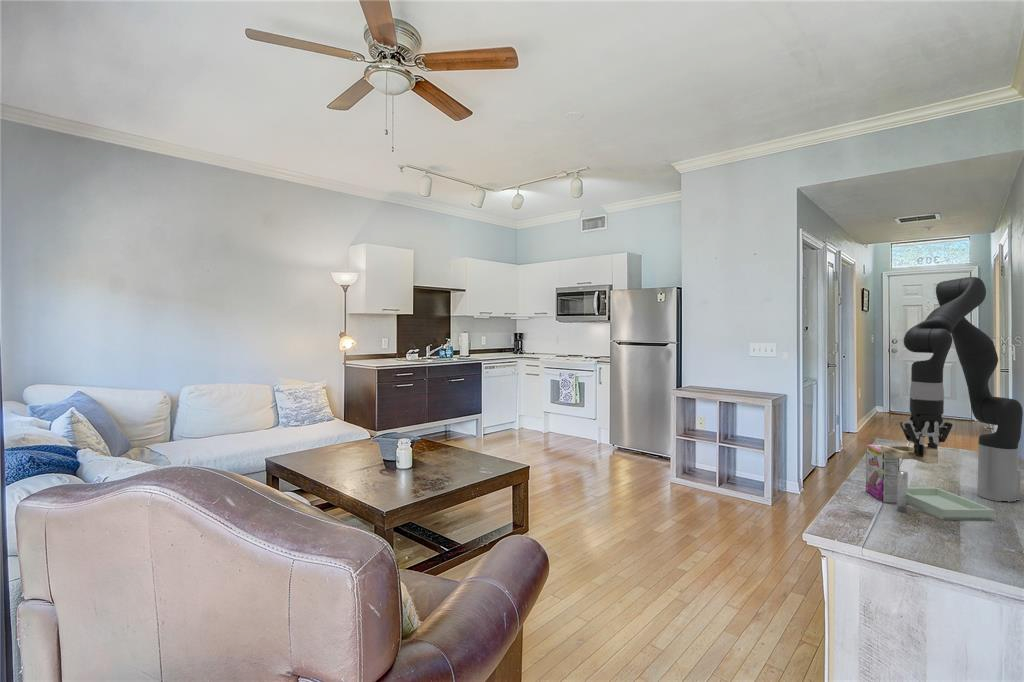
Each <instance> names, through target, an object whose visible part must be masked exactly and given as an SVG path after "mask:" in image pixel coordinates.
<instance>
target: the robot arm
mask: <svg viewBox="0 0 1024 682" xmlns="http://www.w3.org/2000/svg"><path fill="white" fill-rule="evenodd" d="M935 295H936V300H937V303H938V305H939V307H936V308H935V309H934V310H932V311H931V312H930V313H929V314H928V316H927V317H926V318H925V319H924V320H923V321H921V322H919V323H918V324H916V325H914V326H912V327H910V328H909V329H908V331H907V332H906V333H905V334H904V337H903V345H904V347H905V349H906V350H907V351H909V352H912V353H919V354H920V353H921V354H922V353H924V354H932V356H930V358H929V359H926V360H918V361H914V362H912V364H911V377H910V380H911V381H910V387H909V412H910V417H909V418H908V419H909V420H907V421H900V422H899V425H900V427H901V430H902V432H903V434H904V436H905V438H906V440H907V441H908V442H912V443H913V446H914V454H915V455H916V456H918V457H923V450H924V446H925V444H924V442H925V438H926V437H927V445H926V446H927V447H930V448H934V449H938V447H939V444H940V443H945V442H946V440H947V438H948V436H949V434H950V432H951V430H952V428H953V425H954V424H953V423H952V422H948V421H945V420H944V419H943V417H942V415H944V412H945V411H944V407H945V406H944V404H945V403H944V402H945V401H944V399H945V389H944V366H945V364H946V360H947V357H948V354H949V352H950V350H951V347H952V343H953V344H954V348H955V352H956V355H957V359H958V361H959V364H960V367H961V368H962V372H963V374H964V380H965V382H966V386H967V391H968V396H969V402H970V403H969V404H970V407H971V411H972V414H973V417H974V418H975V419H976V420H977V421H978V422H980V423H983V424H989V425H992V426H993V425H994V426H997V427H996V430H995V432H993V433H985V434H981V435H979V437H978V449H977V450H978V451H977V452H978V455H977V456H978V457H977V485H976V486H977V490H976V494H977V496H978V497H981V498H984V499H987V500H991V501H996V502H1001V501H1008V502H1007V503H1010V502H1009V501H1015V500H1017V499H1020V500H1021V471H1019V470H1018V466H1019V465H1018V463H1019V462H1018V458H1019V457H1018V456H1019V453H1018V452H1019V443H1020V441H1021V437H1022V436H1021V435H1022V426H1023V416H1024V412H1023V407H1022V404H1021V403H1020V402H1019V400H1016V399H1015V398H1010V397H1002V396H1001V397H999V396H993V395H992V394H991V392H990V387H989V381H990V378H991V377H992V375H993V373H994V372H995V371H996V368H997V366H998V363H999V357H998V353H997V350H996V346H995V343H994V341H993V340H992V338H991V337H990V336H988V334H986V333H985V332H984V331H982V330H981V329H979V328H978V327H977V326H975V325H974V324H973V323H971V322H970V321H969V320H968V319H967V318H966V316H967V315H968V314H970V313H971V312H973V310H975V309H976V308H978V307H979V306H980V305H981V304H983V302H984V301H985V300H986V296H987V289H986V285H985V283H984V281H983V280H982V279H981V278H980V277H978V276H977V277H976V276H969V277H968V276H967V277H961V278H954V279H949V280H944V281H940V282H938V283H937V284H936V286H935Z"/></svg>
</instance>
